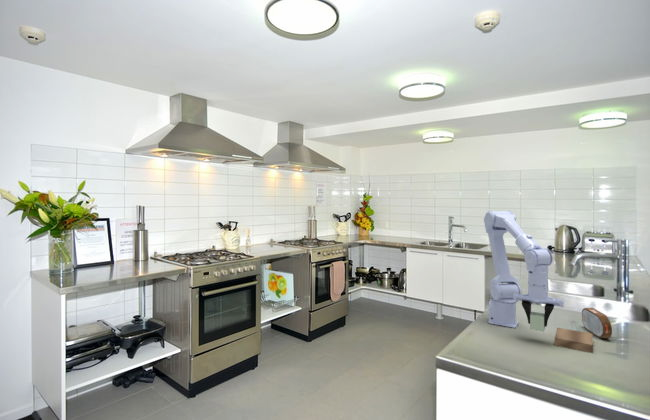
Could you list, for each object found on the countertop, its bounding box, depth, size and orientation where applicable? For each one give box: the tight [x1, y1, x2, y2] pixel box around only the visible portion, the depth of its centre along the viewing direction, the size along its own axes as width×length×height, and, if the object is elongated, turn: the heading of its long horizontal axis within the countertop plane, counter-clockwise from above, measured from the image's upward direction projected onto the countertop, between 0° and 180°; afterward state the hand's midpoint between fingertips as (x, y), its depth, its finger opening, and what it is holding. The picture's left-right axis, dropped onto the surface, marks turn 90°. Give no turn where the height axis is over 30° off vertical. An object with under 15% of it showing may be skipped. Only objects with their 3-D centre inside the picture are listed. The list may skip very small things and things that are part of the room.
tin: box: [581, 307, 613, 339], centre depth 127 cm, size 15×3×8 cm, turn 168°
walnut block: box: [554, 327, 594, 354], centre depth 118 cm, size 10×12×3 cm
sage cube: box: [529, 311, 546, 332], centre depth 120 cm, size 4×4×5 cm
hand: (537, 324), depth 120 cm, fingers closed on sage cube, 4 cm apart
